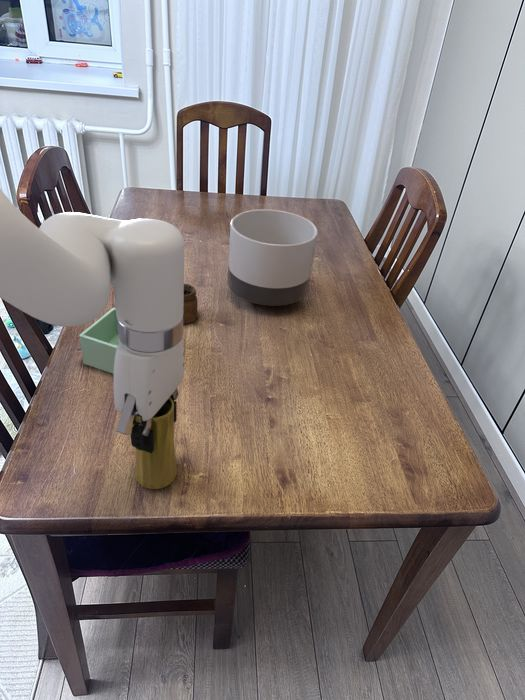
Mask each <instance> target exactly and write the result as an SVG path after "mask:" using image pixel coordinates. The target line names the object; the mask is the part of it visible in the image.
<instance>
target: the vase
mask: <svg viewBox="0 0 525 700" xmlns="http://www.w3.org/2000/svg"><path fill="white" fill-rule="evenodd" d="M136 422H139V423H142V424H143V423H144V421H143V420H142V417H140V416H137V417H136ZM151 429H152V430H153V431H154V451H153V452H152V453H148V452H146V451H143V450H139V449H136V448H135V447H134V449H135V450H134V451H135V471H134V472H135V473H134V476H135V480H136V481H137V483H138V484H139V485H140V486H142V487H143V488H146V489H150V490H159V489H163V488H166V487H168V486H169V485H170V484H172V483H173V482H174V481H175V479H176V477H177V474H178V466H177V461H176V460H177V459H176V452H175V423H174V402H173V400H172V399H171V397H169V398H168V400H167V401H166V402H165V403H164V404H163V406H162V407H161V408H160V409H159V410H158V412H157V413H156V414H155V415H154V416H153V417H152V423H151Z"/></svg>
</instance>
